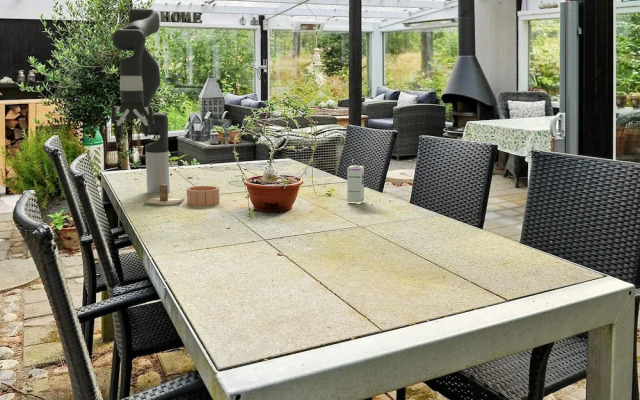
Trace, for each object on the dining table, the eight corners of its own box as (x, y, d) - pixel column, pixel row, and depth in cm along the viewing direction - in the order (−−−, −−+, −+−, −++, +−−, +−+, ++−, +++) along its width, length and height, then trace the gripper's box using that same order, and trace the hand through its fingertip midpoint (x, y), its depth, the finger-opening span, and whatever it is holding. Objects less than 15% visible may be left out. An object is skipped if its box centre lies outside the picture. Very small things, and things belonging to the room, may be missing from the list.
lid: (150, 199, 254) (149, 182, 253) (183, 199, 255) (183, 182, 253) (143, 205, 241) (142, 187, 240) (178, 205, 242) (177, 187, 240)
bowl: (190, 200, 254) (189, 185, 253) (220, 200, 255) (220, 185, 254) (185, 206, 242) (184, 191, 241) (217, 206, 243) (217, 191, 242)
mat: (149, 200, 254) (149, 199, 254) (185, 200, 255) (185, 199, 255) (141, 207, 241) (141, 206, 241) (179, 207, 241) (179, 206, 241)
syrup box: (361, 204, 250) (362, 167, 248) (346, 203, 251) (347, 166, 249) (363, 201, 256) (364, 165, 253) (349, 201, 257) (349, 165, 254)
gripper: (154, 89, 226) (156, 135, 229) (113, 88, 225) (116, 135, 229) (150, 89, 219) (152, 137, 222) (107, 89, 218) (110, 137, 221)
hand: (133, 136), depth 225 cm, fingers open, 8 cm apart
